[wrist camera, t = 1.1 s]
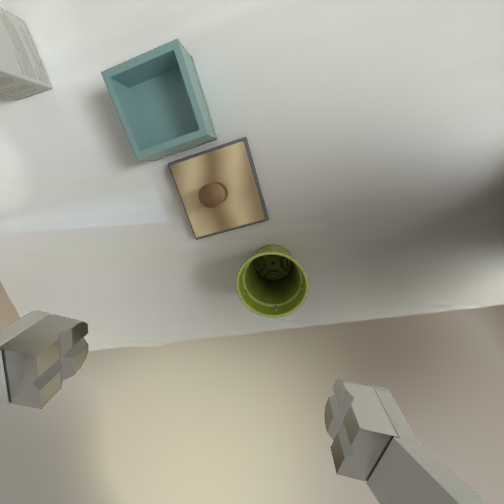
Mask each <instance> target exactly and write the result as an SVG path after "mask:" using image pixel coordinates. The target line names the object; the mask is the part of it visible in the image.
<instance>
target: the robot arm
mask: <svg viewBox="0 0 504 504" xmlns="http://www.w3.org/2000/svg"><path fill="white" fill-rule="evenodd" d="M87 333H88V324H87V323H85V322H83V321H79V320H75V319H71V318H67V317H63V316H59V315H55V314H49V313H45V312H42V311H34V312H30V313H29V314H27V315H25V316H24V317H22V318H20V319H18V320H17V321H15V322H13V323H12V324H10V325H8V326H6V327H5V328H3V329H1V330H0V410H1V409H3V408H4V407H6V406H8V405H9V403H12V404H18V405H23V406H29V407H34V408H40V409H42V407H43V406H44V405H45V404H46V403H47V402H48V401H49V400H50V399H51V398H52V397H53V396H54V395H55V394H56V393H57V392H58V391H59V390H60V389H61V386H62V380H65V379H67V378H69V377H71V376H73V375H74V374H75V373H76V372H77V371H78V370H79V369H80V368H81V366H82V364H83V362H84V361H85V359H86V356H87V353H88V343H87V342H86V340H85V339H84V338H83V337H84V336H85V335H86V334H87ZM333 389H334V392H335V394H334V395H332V396H331V397H329V398H328V401H327V403H326V407H325V424H326V429H327V432H328V434H329V435H330V436H331V438H332V439H333V440H334V441H333V444H332V446H331V451H332V455H333V460H334V464H335V469H336V473H337V474H339V475H343V476H347V477H351V478H355V479H359V480H363V481H367V485H368V486H369V488H370V490H371V491H372V493H373V494H374V496H375V497H376V498H377V500H378V502H379V503H380V504H488V503H487V502H486V501H484V500H483V499H482V498H481V497H480V496H479V495H478V494H477V493H476V492H475V491H474V490H473V489H472V488H471V487H469V486H468V485H467V484H466V483H465V482H464V481H463V480H462V479H461V478H460V477H459V476H458V475H456V473H455V472H453V471H452V470H451V469H450V468H449V467H448V466H447V465H446V464H445V463H444V462H443V461H442V460H441V459H440V458H438V457H437V456H436V455H435V454H434V453H433V452H432V451H431V450H430V449H429V448H428V447H427V446H426V445H425V444H423V443H419V442H418V441H417V439H416V437H415V436H414V434H413V432H412V431H411V429H410V427H409V425H408V423H407V421H406V420H405V418H404V416H403V414H402V413H401V411H400V409H399V407H398V405H397V404H396V402H395V400H394V398H393V397H392V395H391V393H390V392H389V391H388V390H387V389H386V388H382V387H377V386H372V385H366V384H361V383H357V382H352V381H348V380H343V379H338V380H337V381H336V382H335V384H334V386H333Z"/></svg>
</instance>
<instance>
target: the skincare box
mask: <svg viewBox="0 0 504 504" xmlns="http://www.w3.org/2000/svg"><path fill="white" fill-rule="evenodd" d="M49 89H52V86H51V84H50V81H49V79H48V77H47V74H46V72H45V69H44V67H43V65H42V62H41V60H40V58H39V55H38V53H37V51H36V48H35V46H34V44H33V41H32V39H31V36H30V34H29V32H28V29H27V27H26V25H25V22H24V21H23V20H21V19H20V18H18V17H16V16H15V15H13V14H11V13H9V12H8V11H6V10H4V9H2V8H1V7H0V96H4V97H8V98H11V99H15V100H19V99H22V98H25V97H28V96H31V95H34V94H37V93H40V92H43V91H46V90H49Z"/></svg>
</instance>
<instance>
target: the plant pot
mask: <svg viewBox="0 0 504 504" xmlns="http://www.w3.org/2000/svg"><path fill="white" fill-rule="evenodd" d="M287 258H288V259H289V265H287ZM258 260H260V266H261V267H259V266H258ZM272 262H275V264H274V265H273V264H272ZM271 275H279V276H277V277H272V276H271ZM236 288H237V292H238V295H239V297H240V299H241V301H242V302H243V303H244V305H245V306H246V307H247V308H249V309H250V310H251V311H253V312H254V313H256V314H258V315H261V316H265V317H282V316H285V315H288V314H290V313H292V312H294V311H295V310H297V309H298V308H299V307H300V306H301V305H302V304H303V302H304V301H305V299H306V297H307V294H308V288H309V284H308V278H307V275H306V273H305V271H304V269H303V267H302V266H301V265H300V264H299V263H298V262H297V261H296V260H295V259H294V258H292V257H291V255H290V253H289V252H288V251H287V250H286V249H285V248H283V247H281V246H278V245H268V246H265V247H263V248H262V249H260V250H259V251H258V253H257V254H256V255H254V256H252V257H251V258H249V259H248V260H247V261H246V262H245V263H244V264H243V265H242V266H241V268H240V270H239V272H238V274H237V278H236Z"/></svg>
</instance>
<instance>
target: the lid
mask: <svg viewBox="0 0 504 504" xmlns="http://www.w3.org/2000/svg"><path fill="white" fill-rule="evenodd" d="M170 169H171V172H172V174H173V177H174V180H175V182H176V185H177V188H178V190H179V193H180V196H181V198H182V201H183V204H184V206H185V209H186V212H187V214H188V217H189V220H190V222H191V225H192V228H193V230H194V233H195V236H196V238H197V237H201V236H204V235H208V234H212V233H215V232H219V231H223V230H226V229H230V228H234V227H238V226H241V225H245V224H249V223H252V222H256V221H260V220H263V219H264V214H263V210H262V207H261V203H260V200H259V196H258V193H257V189H256V185H255V182H254V178H253V175H252V171H251V167H250V164H249V160H248V157H247V153H246V150H245V146H244V142H243V141H241V142H238V143H235V144H233V145H230V146H227V147H224V148H221V149H218V150H215V151H212V152H209V153H206V154H203V155H200V156H197V157H194V158H191V159H188V160H185V161H182V162H179V163H176V164H173V165H170Z"/></svg>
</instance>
